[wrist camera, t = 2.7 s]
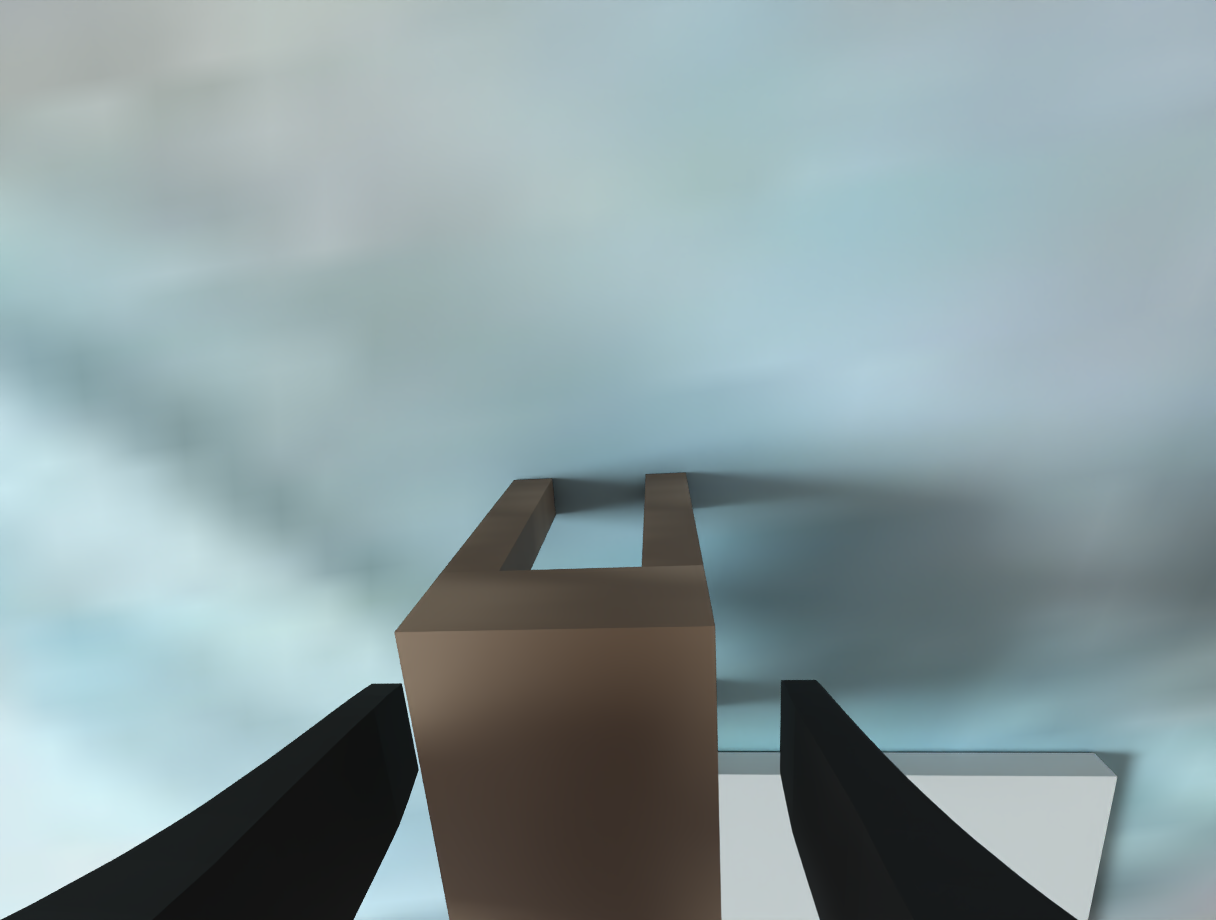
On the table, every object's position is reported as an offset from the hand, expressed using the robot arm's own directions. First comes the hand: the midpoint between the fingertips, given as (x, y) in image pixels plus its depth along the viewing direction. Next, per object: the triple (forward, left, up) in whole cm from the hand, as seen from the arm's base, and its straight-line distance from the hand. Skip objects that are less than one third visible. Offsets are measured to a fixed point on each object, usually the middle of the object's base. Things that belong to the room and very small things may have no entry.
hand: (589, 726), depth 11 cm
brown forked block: (0, 0, -5) cm, 5 cm away
